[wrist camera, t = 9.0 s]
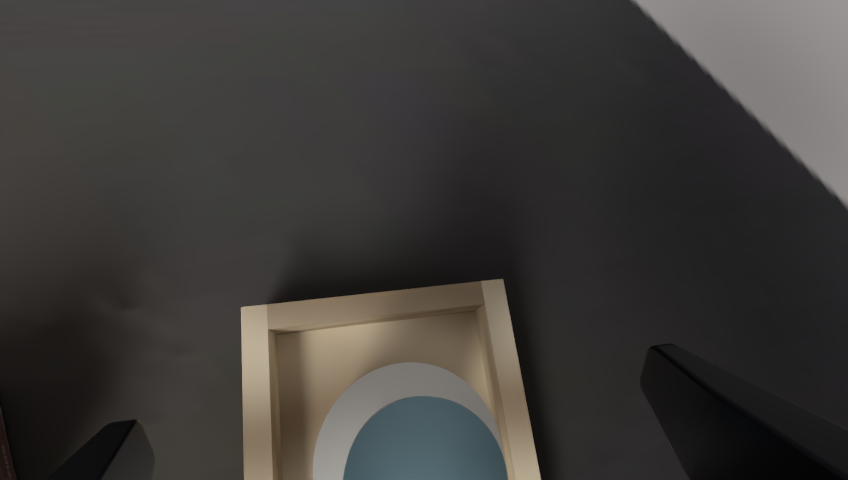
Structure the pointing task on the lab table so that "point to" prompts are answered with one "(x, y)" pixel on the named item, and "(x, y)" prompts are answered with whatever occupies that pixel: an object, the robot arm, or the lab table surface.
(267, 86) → the lab table surface
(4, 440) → the box
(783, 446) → the robot arm
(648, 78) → the lab table surface
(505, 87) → the lab table surface
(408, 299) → the oak tray
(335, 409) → the reagent bottle
